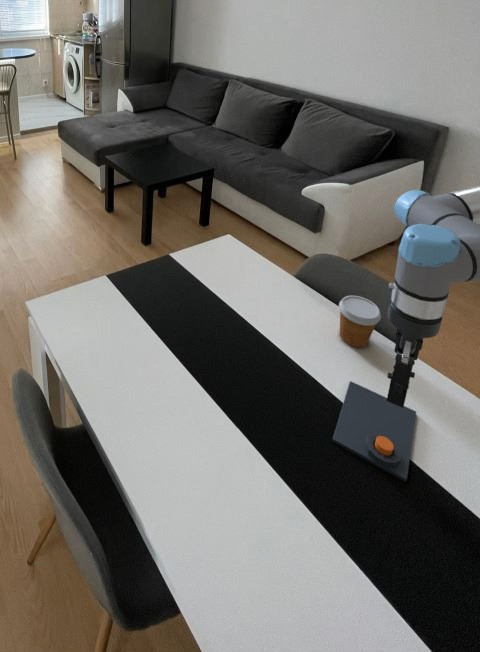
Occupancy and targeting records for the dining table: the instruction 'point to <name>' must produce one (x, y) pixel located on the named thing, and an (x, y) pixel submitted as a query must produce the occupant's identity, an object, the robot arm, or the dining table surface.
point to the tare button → (384, 446)
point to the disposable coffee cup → (357, 320)
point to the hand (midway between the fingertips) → (395, 401)
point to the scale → (375, 429)
